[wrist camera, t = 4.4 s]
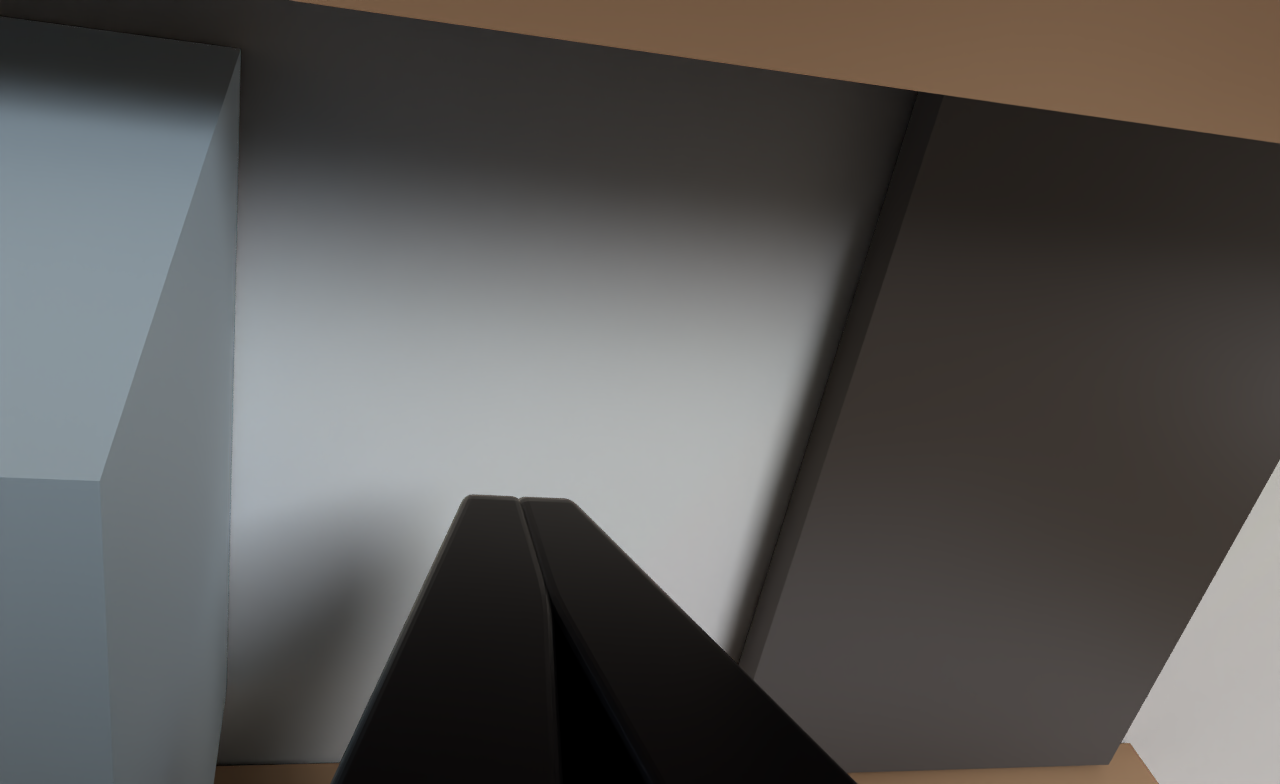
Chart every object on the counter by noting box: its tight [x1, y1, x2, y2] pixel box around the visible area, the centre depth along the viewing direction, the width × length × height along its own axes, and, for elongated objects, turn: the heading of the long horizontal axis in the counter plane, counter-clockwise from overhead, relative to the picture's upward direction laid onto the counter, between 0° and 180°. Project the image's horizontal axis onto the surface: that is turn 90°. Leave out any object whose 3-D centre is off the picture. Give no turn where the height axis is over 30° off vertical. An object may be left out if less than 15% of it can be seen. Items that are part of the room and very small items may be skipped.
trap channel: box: [214, 0, 1280, 784], centre depth 9 cm, size 10×16×2 cm, turn 79°
